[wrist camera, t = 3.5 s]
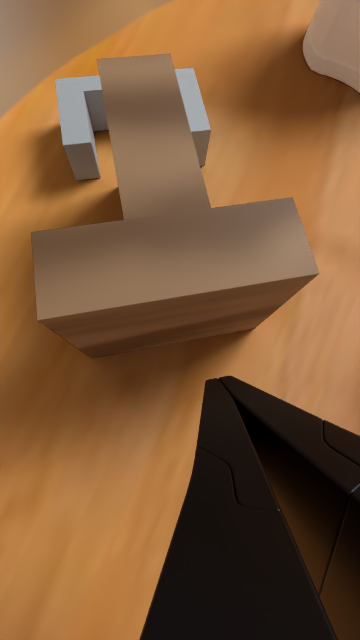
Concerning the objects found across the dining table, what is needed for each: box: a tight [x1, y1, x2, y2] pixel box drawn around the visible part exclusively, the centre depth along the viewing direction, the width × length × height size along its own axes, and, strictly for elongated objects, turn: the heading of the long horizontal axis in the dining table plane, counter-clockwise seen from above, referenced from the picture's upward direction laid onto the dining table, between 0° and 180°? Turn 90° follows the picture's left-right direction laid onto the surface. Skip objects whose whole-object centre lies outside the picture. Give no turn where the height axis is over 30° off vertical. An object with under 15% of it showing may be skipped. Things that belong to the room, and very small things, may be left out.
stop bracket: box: [55, 68, 211, 180], centre depth 25 cm, size 6×11×4 cm, turn 101°
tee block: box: [31, 54, 319, 358], centre depth 19 cm, size 14×12×10 cm
